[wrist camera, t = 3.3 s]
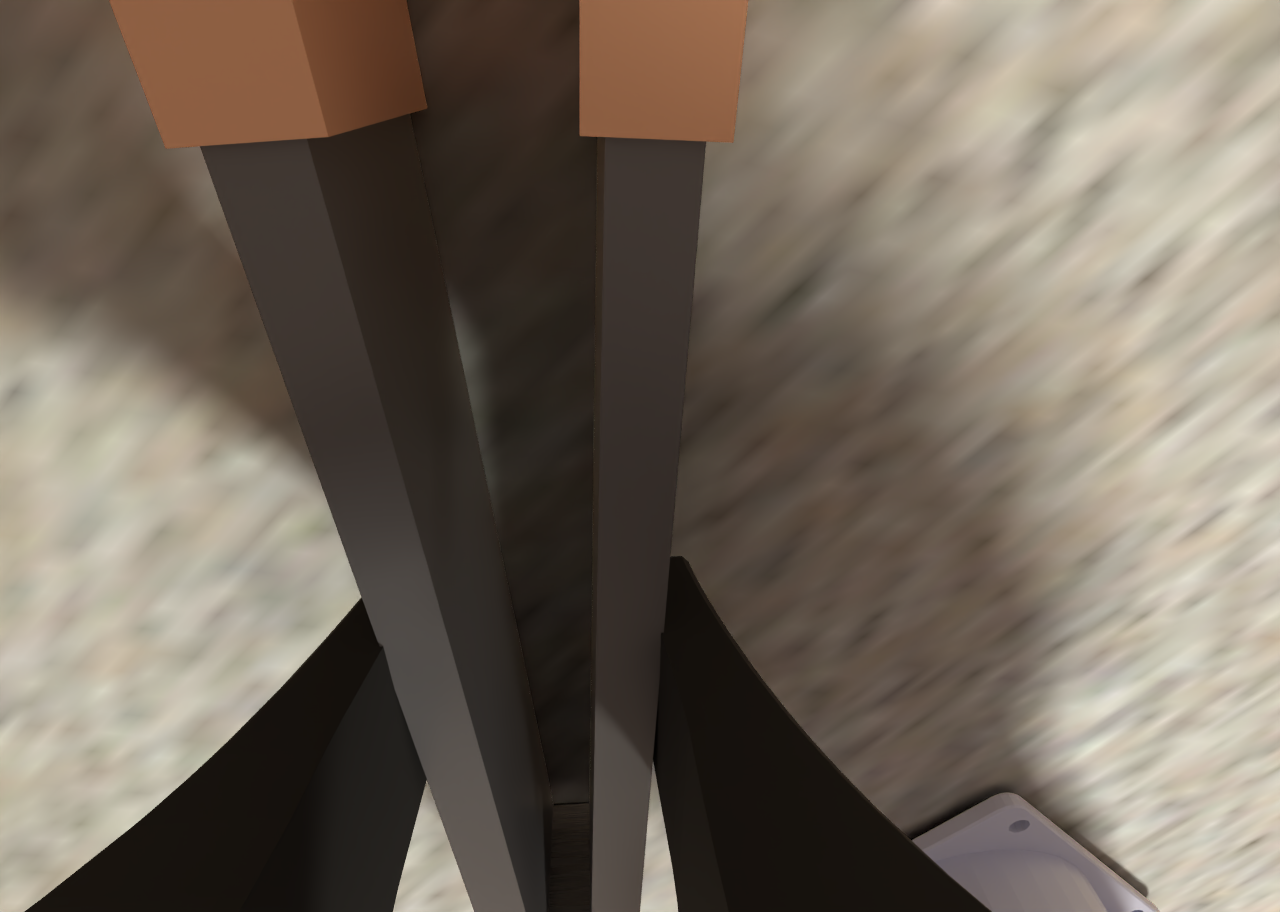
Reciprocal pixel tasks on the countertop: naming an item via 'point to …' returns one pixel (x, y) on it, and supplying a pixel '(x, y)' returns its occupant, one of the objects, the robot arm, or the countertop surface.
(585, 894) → the tongs hub
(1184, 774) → the countertop surface
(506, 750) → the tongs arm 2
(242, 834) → the robot arm
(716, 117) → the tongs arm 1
